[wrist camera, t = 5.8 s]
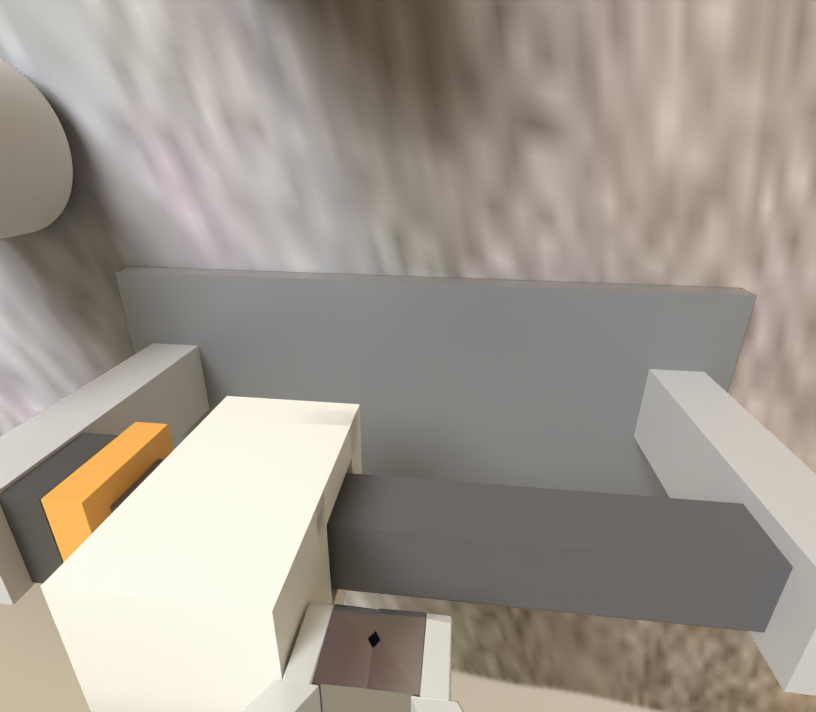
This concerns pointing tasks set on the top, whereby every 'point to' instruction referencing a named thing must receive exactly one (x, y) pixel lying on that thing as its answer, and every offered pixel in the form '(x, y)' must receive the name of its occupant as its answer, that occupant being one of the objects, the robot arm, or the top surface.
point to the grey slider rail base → (463, 443)
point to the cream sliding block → (209, 561)
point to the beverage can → (30, 157)
